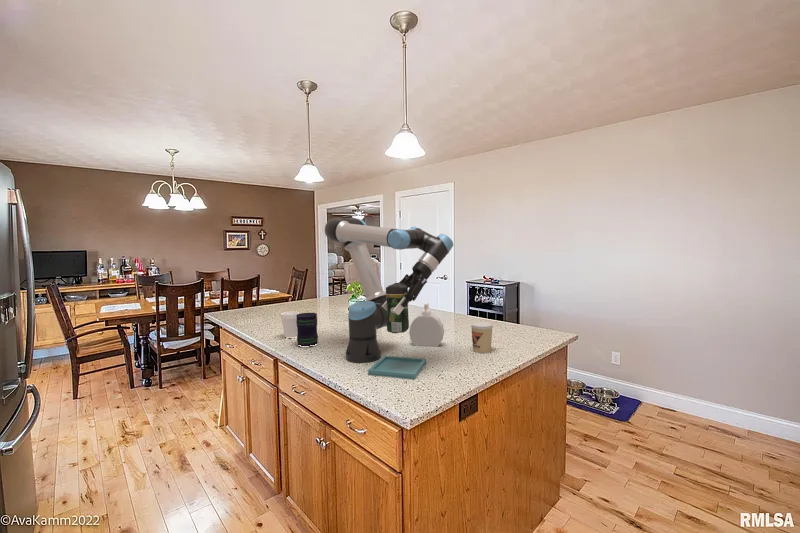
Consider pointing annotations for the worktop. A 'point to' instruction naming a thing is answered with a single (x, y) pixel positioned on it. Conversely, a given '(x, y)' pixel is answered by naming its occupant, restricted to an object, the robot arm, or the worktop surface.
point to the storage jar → (307, 329)
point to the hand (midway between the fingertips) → (389, 310)
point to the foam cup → (289, 323)
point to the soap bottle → (426, 329)
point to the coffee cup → (481, 337)
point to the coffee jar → (393, 298)
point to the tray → (398, 367)
